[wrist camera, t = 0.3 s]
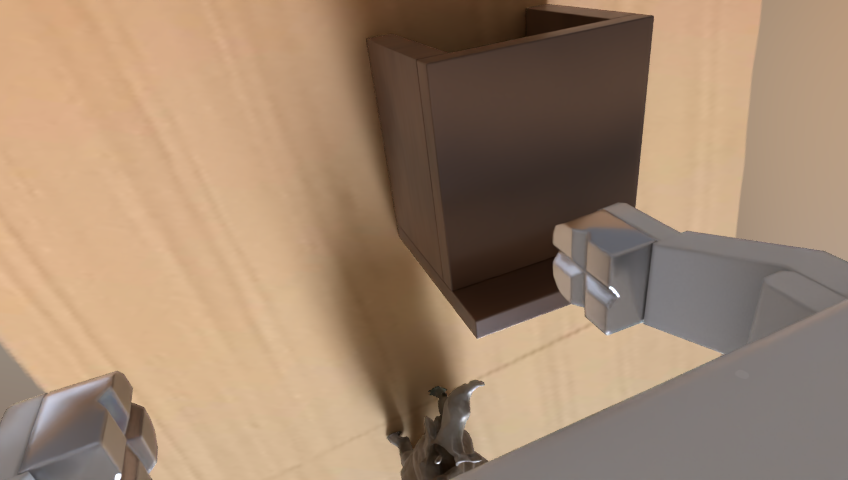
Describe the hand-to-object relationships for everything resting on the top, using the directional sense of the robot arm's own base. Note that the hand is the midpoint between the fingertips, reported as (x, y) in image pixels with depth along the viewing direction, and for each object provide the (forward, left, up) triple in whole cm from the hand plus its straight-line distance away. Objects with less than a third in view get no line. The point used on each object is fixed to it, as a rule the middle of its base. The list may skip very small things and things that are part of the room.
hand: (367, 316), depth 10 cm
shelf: (+5, +13, -23) cm, 27 cm away
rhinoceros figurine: (+31, +7, -23) cm, 39 cm away
